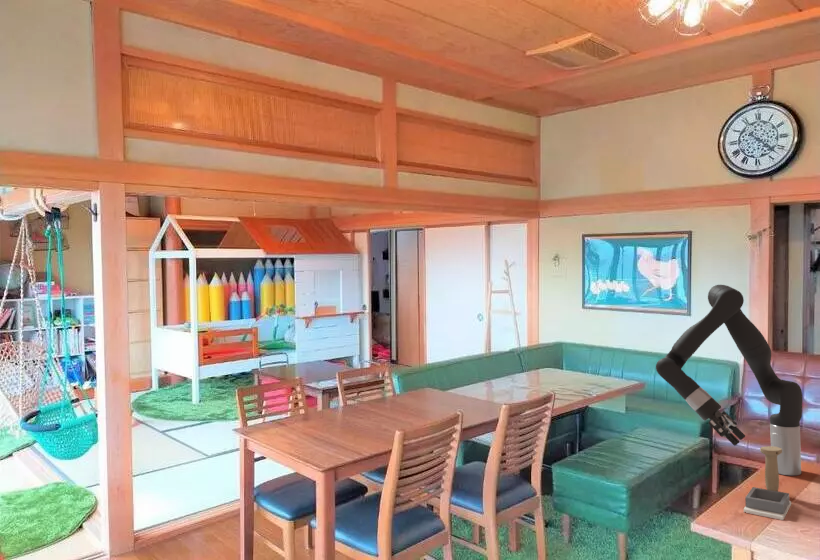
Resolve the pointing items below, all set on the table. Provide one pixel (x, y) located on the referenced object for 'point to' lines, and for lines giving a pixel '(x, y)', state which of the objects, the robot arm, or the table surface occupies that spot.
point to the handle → (771, 467)
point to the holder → (767, 503)
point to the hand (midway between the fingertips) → (740, 441)
